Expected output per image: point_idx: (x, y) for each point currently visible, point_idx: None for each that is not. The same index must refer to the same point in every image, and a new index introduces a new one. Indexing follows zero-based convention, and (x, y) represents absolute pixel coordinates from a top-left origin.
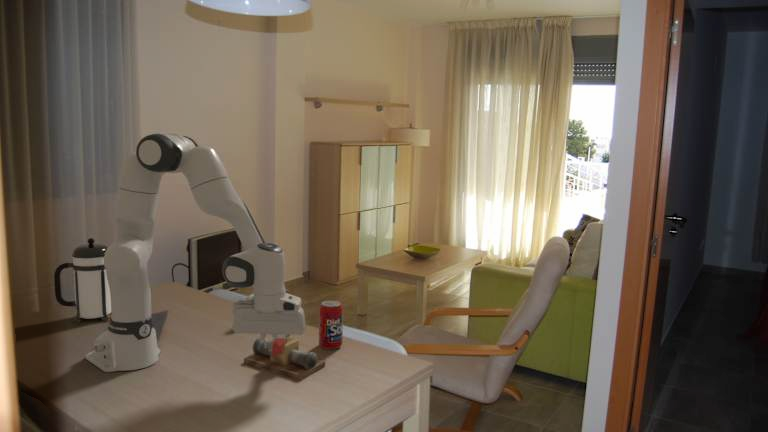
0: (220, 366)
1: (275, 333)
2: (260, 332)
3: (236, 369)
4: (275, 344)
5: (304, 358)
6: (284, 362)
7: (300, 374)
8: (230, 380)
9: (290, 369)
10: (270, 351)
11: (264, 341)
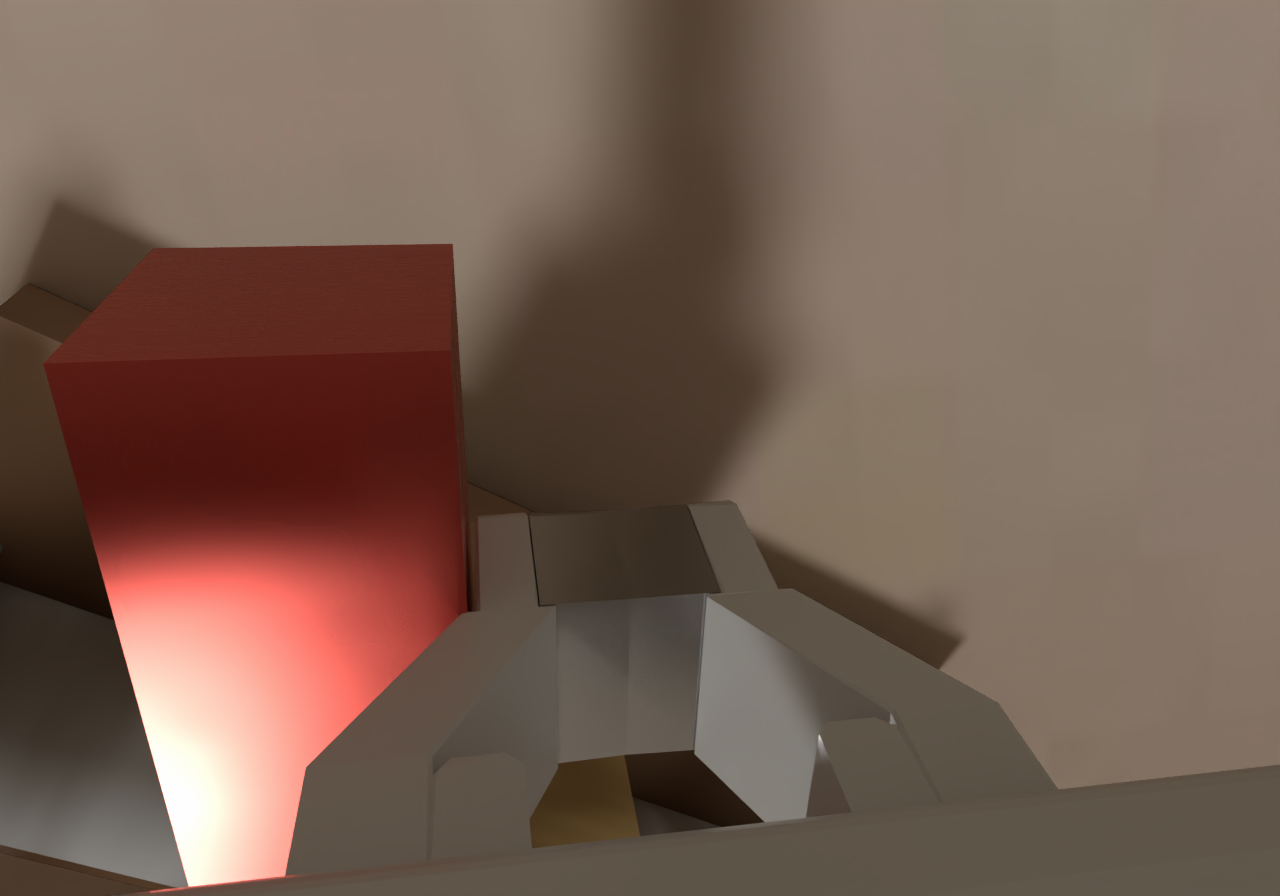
0: (1174, 579)
1: (319, 887)
2: (1155, 824)
3: (1001, 530)
4: (360, 494)
5: None
6: None
7: (10, 352)
8: (1074, 219)
9: None
10: (634, 819)
11: (791, 616)
